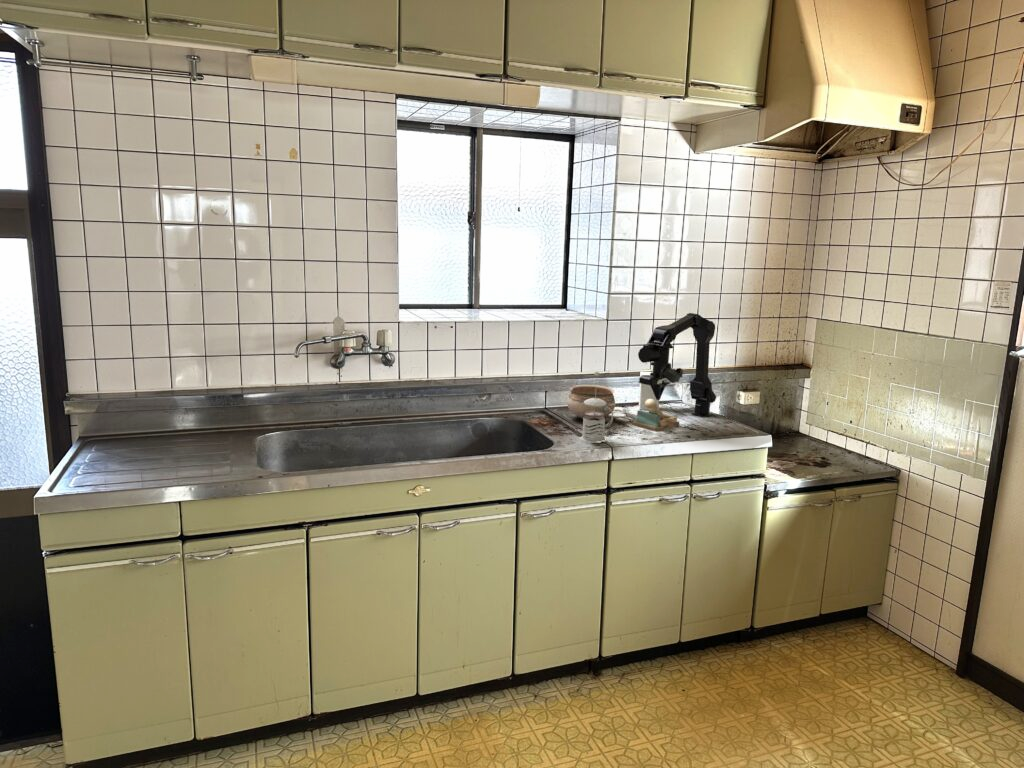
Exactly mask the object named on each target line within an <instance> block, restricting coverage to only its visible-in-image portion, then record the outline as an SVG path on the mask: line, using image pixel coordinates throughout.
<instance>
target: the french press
mask: <svg viewBox="0 0 1024 768" xmlns="http://www.w3.org/2000/svg"><path fill="white" fill-rule="evenodd" d="M593 375H594V376H596V377H595V378H596V379H595V385H598V383H597V382H598V376H600V372H599V371H594V373H593ZM584 404H585V405H588V406H594V407H601V406H605V405H606V402H605V401H604V400H601V399H599V398H596V392H595V398H590V399H587V400H585V401H584ZM605 407H606V408H608V409H610V408H609V407H607V406H605ZM610 410H611V409H610ZM605 411H606V409H605ZM585 415H586V416H584V417H583V420H582V436H580V437H579V439H581V440H583V441H588V442H594V441H601V440H605V439H606V438H605V434H606V428H607V427H609V426H610V425H612V423H613V422H614V421H613V420H614V412H613V411H612V410H611V418H610V420H609V421H608V423H607V424H606V418H605V417H603V416H604V413H602V412H595V409H594V411H588V412H585ZM591 418H597V419H599V420H590V419H591ZM581 440H580V441H581Z"/></svg>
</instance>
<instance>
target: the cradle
mask: <svg viewBox="0 0 1024 768" xmlns="http://www.w3.org/2000/svg"><path fill="white" fill-rule="evenodd" d="M636 412H637V413H636V420H635V421H632V424H631V425H632V426H634V427H639V428H642V429H645V430H648V431H649V430H650V431H652V432H658V431H661V430H665V429H669V428H672V427H676V426H679V425H680V421H677V420H678V417H677V416H673V415H669V414H665V413H662V414H663V415H664V418H663V420H660V415H659V414H655V413H651V412H649V411H648V410H640V409H639V410H637V411H636Z"/></svg>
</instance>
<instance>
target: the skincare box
mask: <svg viewBox="0 0 1024 768" xmlns="http://www.w3.org/2000/svg"><path fill="white" fill-rule="evenodd" d="M652 372H653V371H640V373H639V374H640V375H639V378H640V377H641V376H644V375H649V376H651V375H650V373H652ZM648 399H653V400H654V401H655V403H656V404H657V406H658V407H660V400H656V398H655V395H654V393H653V390H652V388H651V386H650V385H646V384H641V383H639V395H638V408H639V410H643V411H648V410H647V408H646V407H645V405H644V404H645V401H646V400H648Z"/></svg>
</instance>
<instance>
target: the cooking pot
mask: <svg viewBox="0 0 1024 768" xmlns="http://www.w3.org/2000/svg"><path fill="white" fill-rule="evenodd" d="M569 390H570V391H569V392H568V393H567V396H568V397H567V401H566V403H567V407H568V409H569V410H570V412H571V413H572V414H573V415H575V416H576V417H577V418H579V419H580V420H582V421H583V417H584V416H586V415H585V412H588V411H594V409H595V412H602V413H604V416H603V417H604V418H606V417H608V416H609V415H612V413H611V410H612V412H613V411H614V410H615V407H616V406H617V403H616V401H615V400H616V399H615V396H614V392H615V390H614V389H613V388H612V387H609V386H605V385H598V384H578V385H573V386H570V387H569ZM595 392H596V398H599V399H601V400H604V401H605V402H606V405H605V406H607V407H609V408H610V409H611V410H610V409H608V408H606V407H605V406H601V407H594V406H588V405H585V404H584V401H585V400H587V399H590V398H595ZM605 409H606V411H605ZM590 420H598V421H600V420H599V419H597V418H591V419H590Z"/></svg>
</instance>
